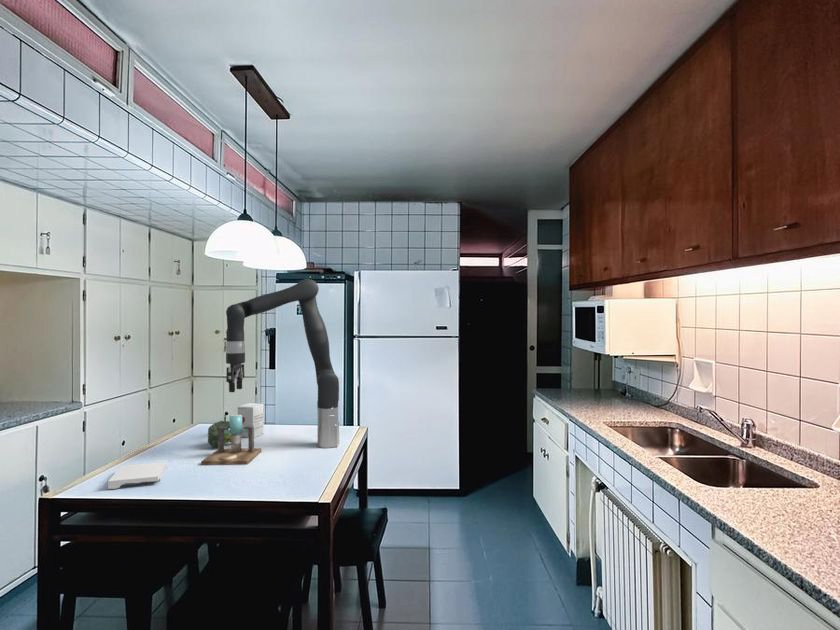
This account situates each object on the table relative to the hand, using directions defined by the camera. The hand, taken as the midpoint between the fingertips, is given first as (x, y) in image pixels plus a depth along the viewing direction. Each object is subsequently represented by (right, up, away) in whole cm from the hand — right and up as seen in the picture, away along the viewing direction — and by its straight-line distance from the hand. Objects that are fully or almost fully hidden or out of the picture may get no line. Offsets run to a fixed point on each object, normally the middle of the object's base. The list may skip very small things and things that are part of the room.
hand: (235, 390), depth 205 cm
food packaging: (-24, -28, -28) cm, 47 cm away
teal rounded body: (0, -18, 0) cm, 18 cm away
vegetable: (-11, -28, +15) cm, 33 cm away
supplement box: (-5, -27, +34) cm, 44 cm away
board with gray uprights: (0, -27, -4) cm, 27 cm away
